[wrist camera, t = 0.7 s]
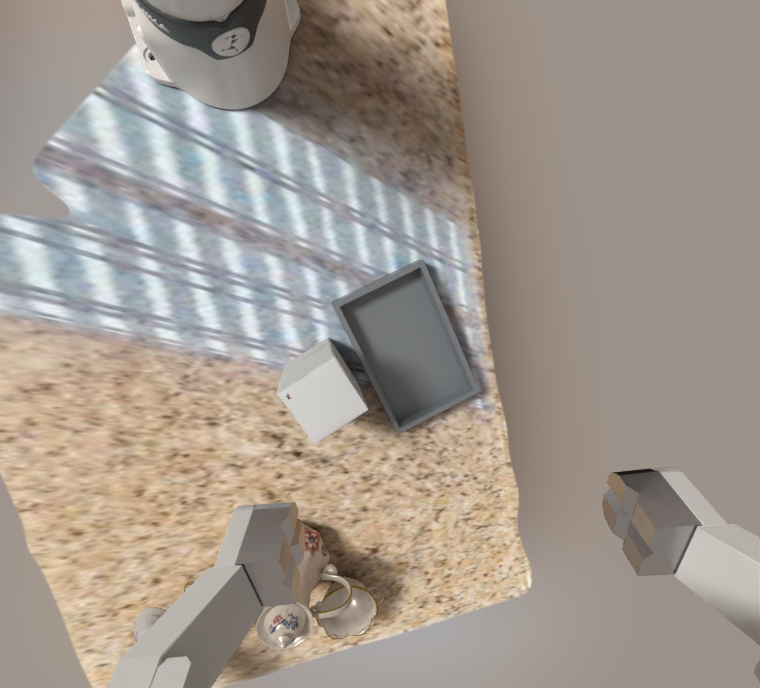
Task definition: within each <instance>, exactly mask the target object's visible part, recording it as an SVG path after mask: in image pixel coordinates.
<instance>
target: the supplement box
mask: <svg viewBox="0 0 760 688" xmlns="http://www.w3.org/2000/svg"><path fill="white" fill-rule="evenodd" d="M277 395H278V396H279V398H280V399H281V400H282V402H283V403H284V404H285V405H286V407H287V408H288V409H289V411H290V412H291V413H292V415H293V416H294V417H295V419H296V420H297V421H298V423H299V424H300V425H301V427H302V428H303V429H304V431H305V432H306V434H307V435H308V436H309V438H310V439H311V440H312V442H313V443H314V444H316V443H318V442H319V441H321V440H323V439H324V438H326V437H327V436H329V435H330V434H332V433H333V432H335V431H337V430H338V429H340V428H341V427H343V426H344V425H346V424H347V423H349V422H350V421H352V420H353V419H355V418H357V417H358V416H360V415H361V414H363V413H364V412H366V411H367V410H368V407H367V404H366V402H365V400H364V397H363V395H362V393H361V390H360V387H359V385H358V382H357V380H356V378H355V377H354V375H353V374H352V372H351V371H350V369H349V368H348V366H347V365H346V363H345V361H344V360H343V358H342V357H341V355H340V354H339V352H338V351H337V349H336V348H335V347H334V345H333V343H332V342H331V341H330V339H329V338H327V339H325V340H324V341H322V342H320V343H319V344H317V345H316V346H314V347H312V348H311V349H309V350H308V351H306V352H305V353H303V354H301V355H300V356H298V357H297V358H295V359H294V360H292V361H290V362H289V363H287V364H286V365H284V369H283V373H282V376H281V380H280V383H279V387H278V390H277Z"/></svg>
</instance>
